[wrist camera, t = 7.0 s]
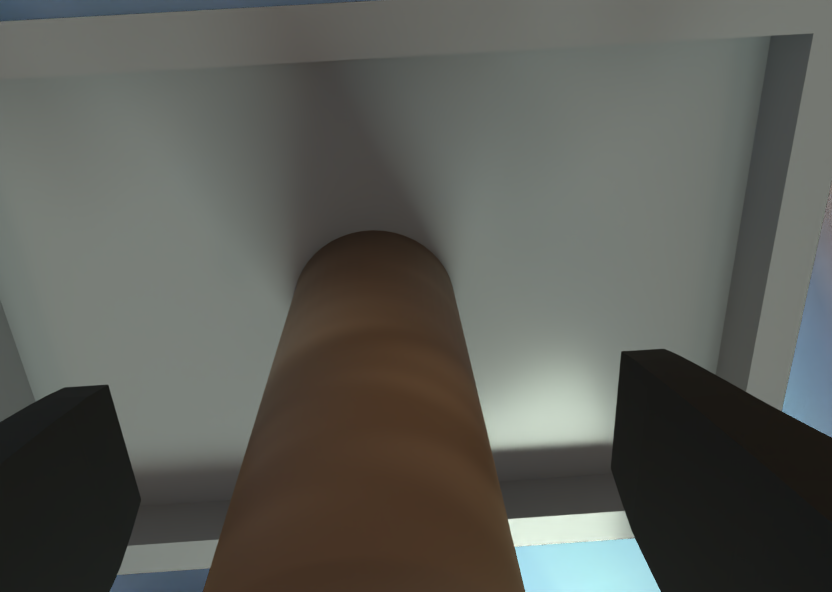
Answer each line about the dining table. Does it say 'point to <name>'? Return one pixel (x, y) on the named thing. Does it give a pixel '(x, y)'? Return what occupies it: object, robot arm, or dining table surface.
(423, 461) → the dowel
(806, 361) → the dining table surface
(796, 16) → the tray
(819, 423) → the dining table surface
